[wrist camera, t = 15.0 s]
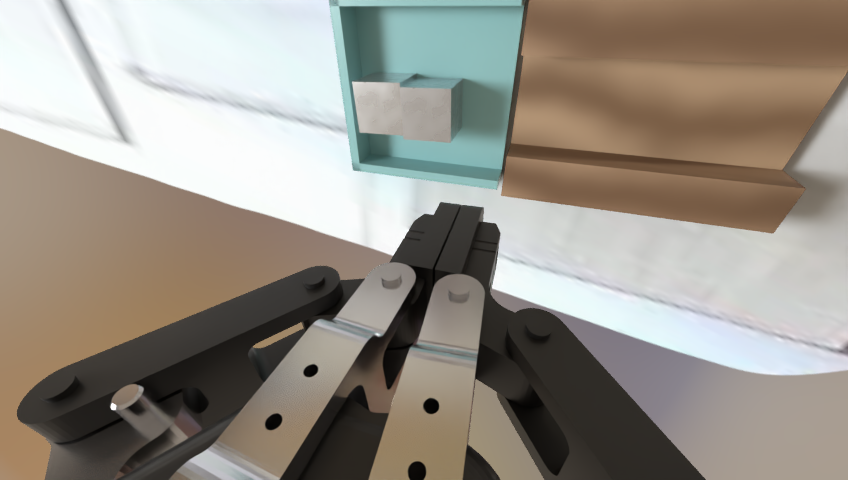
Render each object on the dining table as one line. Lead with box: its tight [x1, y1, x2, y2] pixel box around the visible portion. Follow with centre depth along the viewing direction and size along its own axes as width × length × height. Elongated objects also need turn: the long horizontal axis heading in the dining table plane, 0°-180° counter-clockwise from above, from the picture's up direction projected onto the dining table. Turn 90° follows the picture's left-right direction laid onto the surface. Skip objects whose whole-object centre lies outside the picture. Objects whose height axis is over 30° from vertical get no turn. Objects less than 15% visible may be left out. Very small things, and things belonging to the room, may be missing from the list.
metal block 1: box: [352, 73, 417, 136], centre depth 28 cm, size 4×4×4 cm
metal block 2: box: [400, 77, 463, 143], centre depth 28 cm, size 4×4×4 cm
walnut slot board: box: [501, 0, 848, 233], centre depth 23 cm, size 14×19×4 cm
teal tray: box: [329, 0, 525, 190], centre depth 28 cm, size 14×14×3 cm
